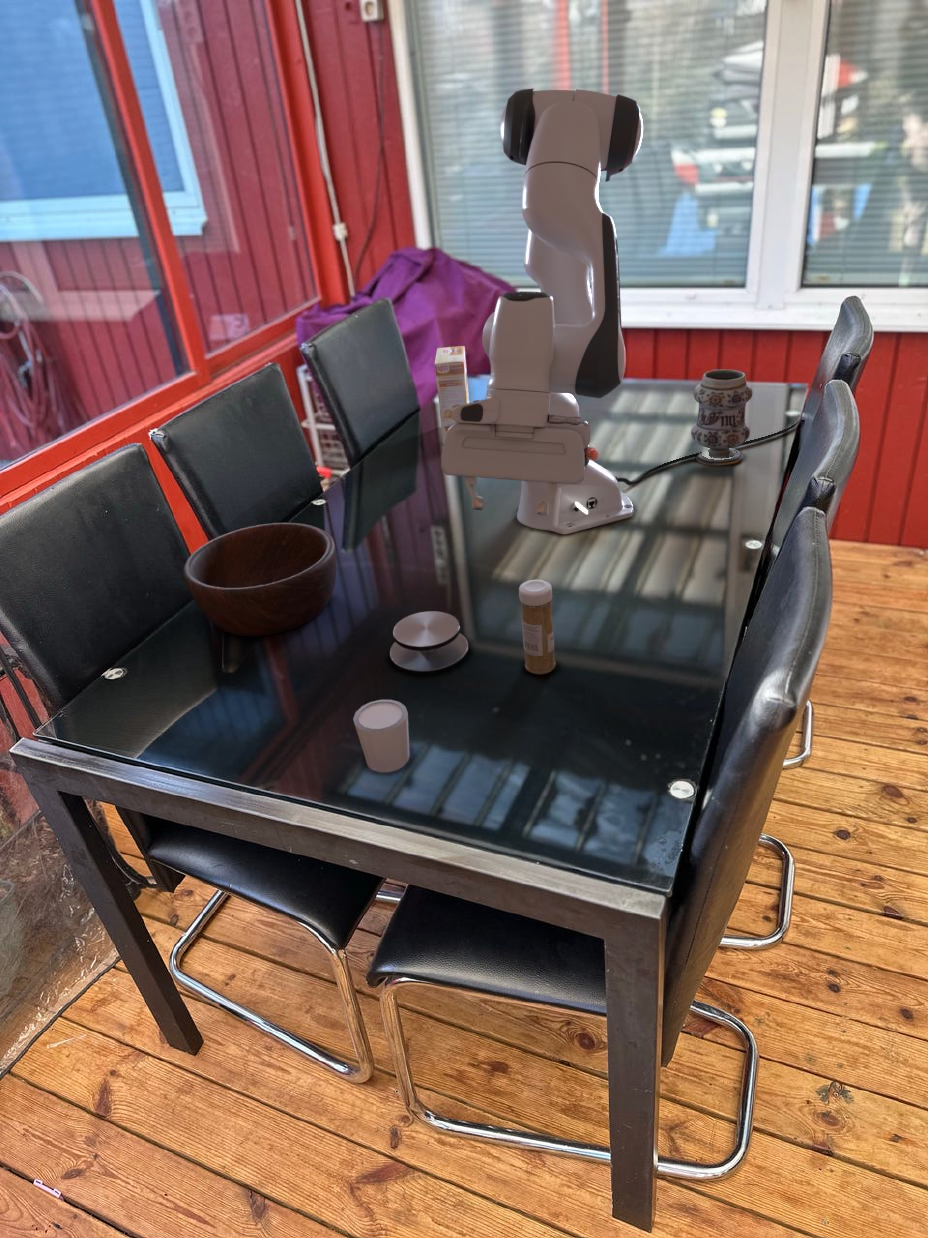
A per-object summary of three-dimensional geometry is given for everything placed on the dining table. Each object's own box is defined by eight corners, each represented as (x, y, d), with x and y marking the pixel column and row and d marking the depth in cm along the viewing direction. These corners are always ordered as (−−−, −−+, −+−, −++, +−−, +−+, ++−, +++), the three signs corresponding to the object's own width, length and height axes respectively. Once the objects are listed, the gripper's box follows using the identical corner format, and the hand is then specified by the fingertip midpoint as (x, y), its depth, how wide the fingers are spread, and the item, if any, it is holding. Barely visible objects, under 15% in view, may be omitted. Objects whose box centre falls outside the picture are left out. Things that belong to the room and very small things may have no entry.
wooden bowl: (275, 661, 137) (261, 603, 132) (166, 627, 149) (150, 573, 144) (373, 588, 154) (364, 534, 149) (268, 562, 167) (257, 513, 162)
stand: (460, 626, 141) (458, 602, 138) (475, 666, 131) (473, 641, 128) (386, 639, 139) (382, 615, 137) (395, 681, 129) (391, 656, 127)
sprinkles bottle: (562, 667, 128) (558, 586, 121) (536, 679, 126) (531, 597, 119) (542, 654, 132) (538, 575, 125) (518, 665, 130) (512, 585, 123)
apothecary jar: (755, 451, 192) (762, 368, 183) (737, 470, 183) (743, 384, 174) (701, 444, 198) (705, 364, 189) (681, 463, 190) (684, 380, 180)
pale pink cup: (362, 744, 117) (353, 702, 114) (413, 738, 117) (406, 695, 114) (360, 779, 111) (352, 735, 108) (415, 772, 111) (408, 728, 108)
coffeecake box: (471, 442, 213) (464, 361, 203) (442, 444, 213) (433, 363, 203) (472, 422, 226) (465, 344, 216) (444, 424, 226) (436, 347, 216)
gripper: (592, 417, 125) (583, 515, 128) (449, 408, 128) (444, 504, 131) (591, 417, 119) (582, 520, 122) (442, 407, 122) (436, 508, 125)
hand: (509, 511), depth 126 cm, fingers open, 8 cm apart
